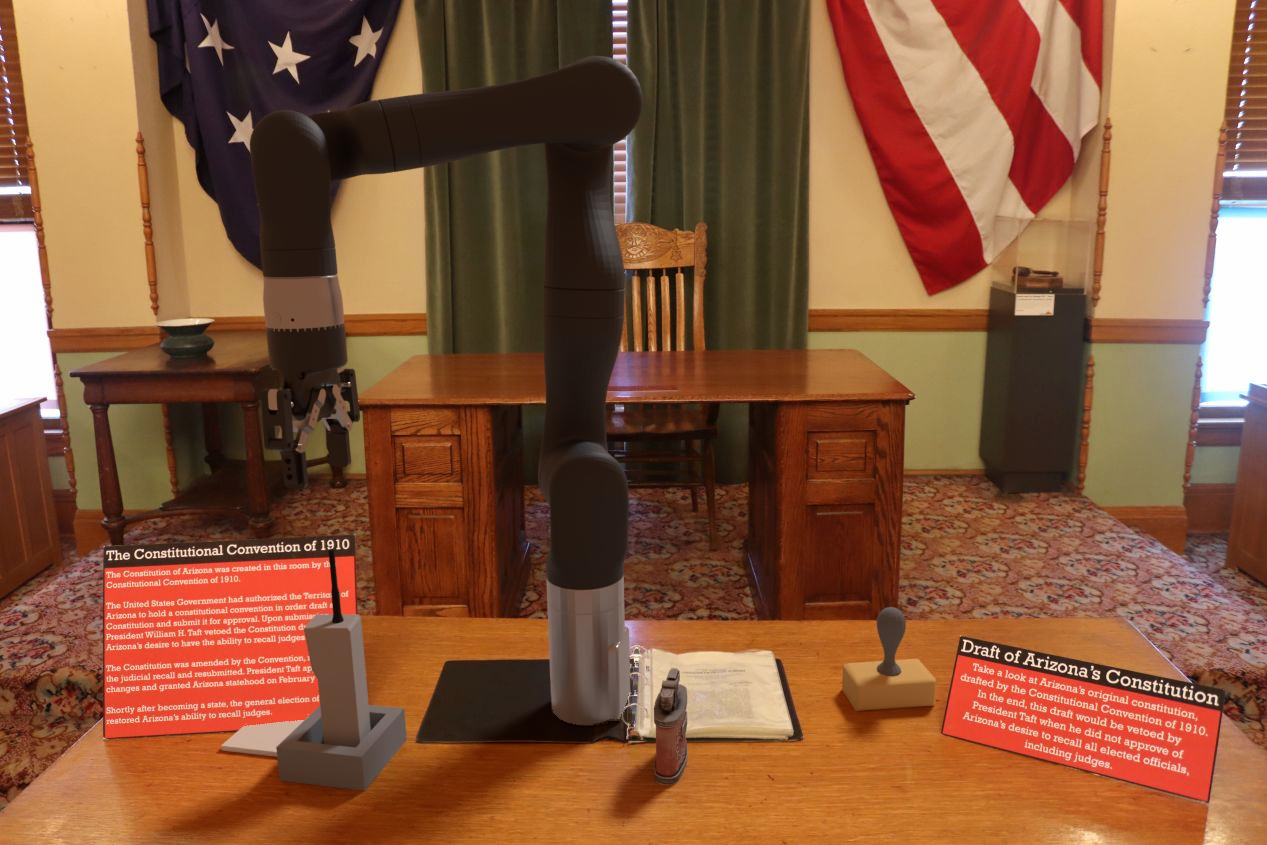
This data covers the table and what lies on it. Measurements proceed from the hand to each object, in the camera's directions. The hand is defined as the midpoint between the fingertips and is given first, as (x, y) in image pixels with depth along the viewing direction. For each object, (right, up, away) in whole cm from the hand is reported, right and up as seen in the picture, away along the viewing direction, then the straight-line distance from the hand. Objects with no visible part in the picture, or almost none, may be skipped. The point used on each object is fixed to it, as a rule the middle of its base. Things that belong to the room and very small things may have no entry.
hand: (319, 476), depth 96 cm
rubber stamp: (+64, -29, +18) cm, 73 cm away
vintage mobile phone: (0, -32, +7) cm, 33 cm away
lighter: (+37, -32, +5) cm, 49 cm away
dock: (0, -32, +7) cm, 33 cm away
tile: (-10, -31, +12) cm, 35 cm away
